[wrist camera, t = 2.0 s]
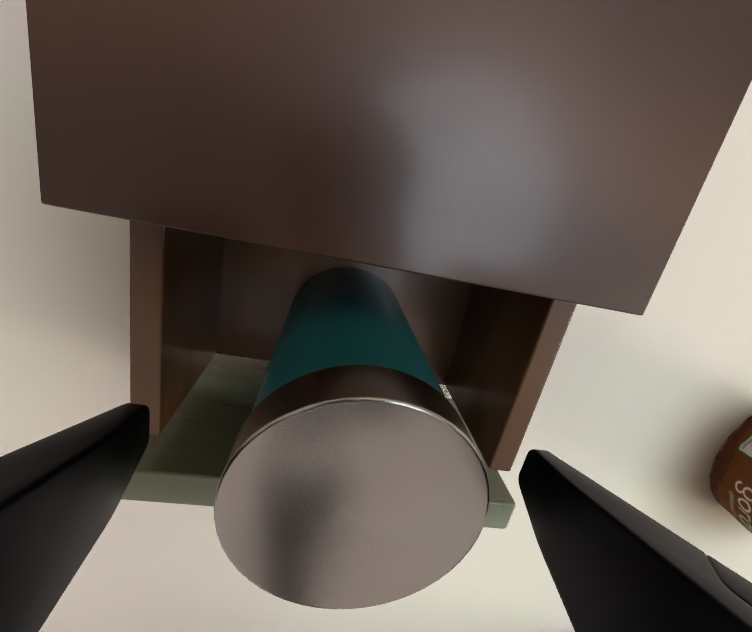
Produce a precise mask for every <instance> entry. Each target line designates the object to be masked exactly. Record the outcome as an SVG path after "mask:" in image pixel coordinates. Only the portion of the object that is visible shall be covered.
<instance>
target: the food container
mask: <svg viewBox="0 0 752 632" xmlns="http://www.w3.org/2000/svg"><path fill="white" fill-rule="evenodd" d="M710 485H711V490H712V493H713V495H714V497H715V498H716V500H717V501H718V502H719V503H720V504H721V505H722V506H723V507H724V508H725V509H726V510H728V511H729V512H730V513H731V514H732V515H733V516H734V517H735V518H736V519H737V520H738V521H739V522H740V523H741V524H742V525H743V526H744V527H745V528H746V529H747V530H749V531H750V532H751V533H752V417H750V418H749V419H748V420H747V421H746V422H745V423H744V424H743V425H741V426H740V427H739V428H738V429H737V430H736V431H735V432H734V433H733V434H732V435H731V436H730V437H729V438H728V440H727V441H726V443H725V444H724V446H723V447H722V449H721V450H720V452H719V453H718V455H717V456H716V458H715V462H714V465H713V468H712V471H711V474H710Z"/></svg>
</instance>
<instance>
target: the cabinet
mask: <svg viewBox="0 0 752 632" xmlns="http://www.w3.org/2000/svg"><path fill="white" fill-rule="evenodd" d="M26 9H27V22H28V35H29V48H30V61H31V74H32V87H33V100H34V113H35V126H36V139H37V152H38V165H39V178H40V191H41V202H42V203H43V204H46V205H52V206H57V207H62V208H68V209H73V210H78V211H84V212H89V213H94V214H100V215H105V216H111V217H116V218H121V219H127V220H132V221H137V222H143V223H148V224H153V225H159V226H164V227H170V228H175V229H180V230H186V231H191V232H196V233H202V234H207V235H212V236H218V237H223V238H228V239H234V240H239V241H245V242H250V243H255V244H261V245H266V246H271V247H277V248H282V249H287V250H293V251H298V252H303V253H309V254H314V255H320V256H325V257H330V258H336V259H341V260H346V261H352V262H357V263H362V264H368V265H373V266H378V267H384V268H389V269H395V270H400V271H405V272H411V273H416V274H421V275H427V276H432V277H437V278H443V279H448V280H453V281H459V282H464V283H470V284H475V285H480V286H486V287H491V288H496V289H502V290H507V291H512V292H518V293H523V294H528V295H534V296H539V297H545V298H550V299H555V300H561V301H566V302H571V303H577V304H582V305H587V306H593V307H598V308H604V309H609V310H614V311H620V312H625V313H630V314H636V315H643V313H644V311H645V309H646V307H647V305H648V303H649V300H650V298H651V296H652V294H653V292H654V290H655V288H656V285H657V283H658V281H659V279H660V277H661V275H662V272H663V270H664V268H665V266H666V264H667V262H668V260H669V257H670V255H671V253H672V251H673V249H674V247H675V244H676V242H677V240H678V238H679V236H680V234H681V231H682V229H683V227H684V225H685V223H686V221H687V219H688V216H689V214H690V212H691V210H692V208H693V206H694V203H695V201H696V199H697V197H698V195H699V193H700V191H701V188H702V186H703V184H704V182H705V180H706V178H707V175H708V173H709V171H710V169H711V167H712V165H713V162H714V160H715V158H716V156H717V154H718V152H719V150H720V147H721V145H722V143H723V141H724V139H725V137H726V134H727V132H728V130H729V128H730V126H731V124H732V122H733V119H734V117H735V115H736V113H737V111H738V109H739V106H740V104H741V102H742V100H743V98H744V96H745V94H746V91H747V89H748V87H749V85H750V83H751V81H752V0H26Z"/></svg>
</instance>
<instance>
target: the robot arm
mask: <svg viewBox="0 0 752 632" xmlns="http://www.w3.org/2000/svg"><path fill="white" fill-rule="evenodd" d="M149 425H150V410H149V407H148V406H147V405H142V404H133V403H126V404H124V405H121V406H119V407H117V408H114V409H112V410H109V411H107V412H105V413H102V414H100V415H98V416H95V417H93V418H91V419H88V420H86V421H84V422H81V423H79V424H77V425H74V426H72V427H70V428H67V429H65V430H62V431H60V432H58V433H55V434H53V435H51V436H48V437H46V438H44V439H41V440H39V441H37V442H34V443H32V444H30V445H27V446H25V447H23V448H20V449H18V450H15V451H13V452H11V453H8V454H6V455H4V456H1V457H0V632H39V630H40V629H41V627H42V625H43V624H44V622H45V621H46V619H47V618H48V616H49V614H50V613H51V611H52V610H53V608H54V607H55V605H56V604H57V602H58V600H59V599H60V597H61V596H62V594H63V593H64V591H65V589H66V588H67V586H68V585H69V583H70V582H71V580H72V578H73V577H74V575H75V574H76V572H77V571H78V569H79V568H80V566H81V564H82V563H83V561H84V560H85V558H86V557H87V555H88V553H89V552H90V550H91V549H92V547H93V546H94V544H95V543H96V541H97V539H98V538H99V536H100V535H101V533H102V532H103V530H104V528H105V527H106V525H107V524H108V522H109V520H110V519H111V517H112V515H113V513H114V511H115V510H116V508H117V506H118V504H119V502H120V500H121V498H122V496H123V494H124V492H125V490H126V488H127V486H128V484H129V482H130V480H131V478H132V476H133V474H134V472H135V470H136V468H137V466H138V464H139V462H140V460H141V458H142V456H143V454H144V452H145V450H146V448H147V445H148V442H149ZM519 486H520V489H521V493H522V496H523V499H524V502H525V505H526V508H527V511H528V514H529V517H530V520H531V523H532V527H533V530H534V533H535V536H536V539H537V542H538V544H539V547H540V550H541V552H542V555H543V557H544V559H545V562H546V564H547V566H548V569H549V571H550V574H551V576H552V578H553V581H554V583H555V585H556V588H557V590H558V592H559V595H560V597H561V599H562V602H563V604H564V606H565V609H566V611H567V614H568V616H569V618H570V621H571V623H572V625H573V628H574V630H575V632H752V583H751V582H749V581H748V580H746V579H745V578H743V577H741V576H740V575H738V574H737V573H735V572H734V571H732V570H730V569H729V568H727V567H726V566H724V565H723V564H721V563H720V562H718V561H716V560H715V559H713V558H712V557H710V556H708V555H707V556H706V555H705V553H704V552H702V551H701V550H699V549H698V548H696V547H695V546H693V545H692V544H690V543H689V542H687V541H685V540H684V539H682V538H681V537H679V536H678V535H676V534H675V533H673V532H672V531H670V530H669V529H667V528H665V527H664V526H662V525H661V524H659V523H658V522H656V521H655V520H653V519H652V518H650V517H648V516H647V515H645V514H644V513H642V512H641V511H639V510H638V509H636V508H635V507H633V506H631V505H630V504H628V503H627V502H625V501H624V500H622V499H621V498H619V497H618V496H616V495H614V494H613V493H611V492H610V491H608V490H607V489H605V488H604V487H602V486H601V485H599V484H598V483H596V482H594V481H593V480H591V479H590V478H588V477H587V476H585V475H584V474H582V473H581V472H579V471H577V470H576V469H574V468H573V467H571V466H570V465H568V464H567V463H565V462H564V461H562V460H560V459H559V458H557V457H556V456H554V455H553V454H551V453H550V452H548V451H544V450H535V449H533V450H530V451H529V452H528V454H527V456H526V459H525V461H524V464H523V466H522V469H521V471H520V473H519Z"/></svg>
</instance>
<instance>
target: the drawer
mask: <svg viewBox="0 0 752 632" xmlns="http://www.w3.org/2000/svg"><path fill="white" fill-rule="evenodd" d="M341 267H349V268H357V269H361V270H364V271H367V272H369V273H372V274H373V275H375V276H377V277H378V278H380V279H381V280H382V281H384V282H385V283H386V284H387V285H388V287H389V288H390V289H391V290H392V292H393V293H394V295H395V297H396V299H397V301H398V303H399V305H400V307H401V309H402V311H403V313H404V315H405V317H406V319H407V321H408V323H409V325H410V327H411V329H412V331H413V333H414V335H415V337H416V339H417V341H418V343H419V345H420V347H421V349H422V351H423V353H424V355H425V357H426V359H427V361H428V363H429V365H430V367H431V369H432V371H433V374H434V376H435V378H436V380H437V382H438V384H442V385H446V387H447V389H448V391H449V393H450V395H451V397H452V399H449V398H446V399H447V400H448V401H449V402H450V403H451V405H452V406H453V407H454V408H455V410H456V411H457V413H458V414H459V416H460V418H461V419H462V421H463V423H464V425H465V427H466V429H467V431H468V433H469V435H470V437H471V439H472V440H473V442H474V444H475V446H476V448H477V450H478V452H479V454H480V456H481V458H482V460H483V463H484V466H485V468H486V471H487V476H488V481H489V506H488V513H487V516H486V519H485V523H484V526H483V527H490V528H503V529H504V528H506V527H507V524H508V522H509V519H510V517H511V515H512V512H513V510H514V508H515V502H514V500H513V498H512V496H511V494H510V493H509V491H508V489H507V487H506V485H505V484H504V482H503V480H502V478H501V476H500V474H499V473H498V471H497V470H503V471H510V470H511V467H512V465H513V462H514V460H515V457H516V455H517V452H518V450H519V447H520V445H521V442H522V440H523V437H524V435H525V432H526V430H527V427H528V425H529V422H530V420H531V417H532V415H533V412H534V410H535V407H536V405H537V402H538V400H539V397H540V395H541V392H542V390H543V387H544V385H545V382H546V380H547V377H548V375H549V372H550V370H551V367H552V365H553V362H554V360H555V357H556V355H557V352H558V350H559V347H560V345H561V342H562V340H563V337H564V335H565V332H566V330H567V327H568V325H569V322H570V320H571V317H572V315H573V312H574V310H575V307H576V305H577V303H571V302H566V301H561V300H555V299H550V298H545V297H539V296H534V295H528V294H523V293H518V292H512V291H507V290H502V289H496V288H491V287H486V286H480V285H475V284H470V283H464V282H459V281H453V280H448V279H443V278H437V277H432V276H427V275H421V274H416V273H411V272H405V271H400V270H395V269H389V268H384V267H378V266H373V265H368V264H362V263H357V262H352V261H346V260H341V259H336V258H330V257H325V256H320V255H314V254H309V253H303V252H298V251H293V250H287V249H282V248H277V247H271V246H266V245H261V244H255V243H250V242H245V241H239V240H234V239H228V238H223V237H218V236H212V235H207V234H202V233H196V232H191V231H186V230H180V229H175V228H170V227H164V226H159V225H153V224H148V223H143V222H137V221H132V220H130V391H131V403H133V404H142V405H147V406H148V407H149V410H150V425H149V442H148V445H147V448H146V450H145V452H144V454H143V456H142V458H141V460H140V462H139V464H138V466H137V468H136V470H135V472H134V474H133V476H132V478H131V480H130V482H129V484H128V486H127V488H126V490H125V492H124V494H123V496H122V498H121V499H125V500H138V501H151V502H164V503H177V504H190V505H203V506H214V501H215V496H216V490H217V487H218V484H219V481H220V478H221V476H222V473H223V470H224V468H225V465H226V463H227V460H228V458H229V455H230V452H231V450H232V447H233V445H234V442H235V440H236V437H237V435H238V432H239V431H240V429H241V427H242V425H243V423H244V422H245V420H246V419H247V417H248V416H249V415H250V414H251V412H252V409H253V407H254V404H255V401H256V399H257V396H258V393H259V391H260V388H261V385H262V382H263V380H264V377H265V374H261V373H254V372H246V371H239V370H231V369H224V368H216V367H209V366H208V364H209V363H210V361H211V360H212V359H213V357H214V356H215V354H216V353H219V354H226V355H233V356H240V357H247V358H255V359H262V360H269V361H271V358H272V355H273V353H274V350H275V347H276V345H277V342H278V339H279V337H280V334H281V331H282V329H283V326H284V323H285V320H286V318H287V315H288V312H289V310H290V307H291V304H292V302H293V299H294V297H295V295H296V294H297V292H298V291H299V289H300V288H301V287H302V286H303V285H304V284H305V283H306V282H307V281H308V280H309V279H311V278H312V277H314V276H315V275H317V274H319V273H321V272H324V271H326V270H330V269H334V268H341Z"/></svg>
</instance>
